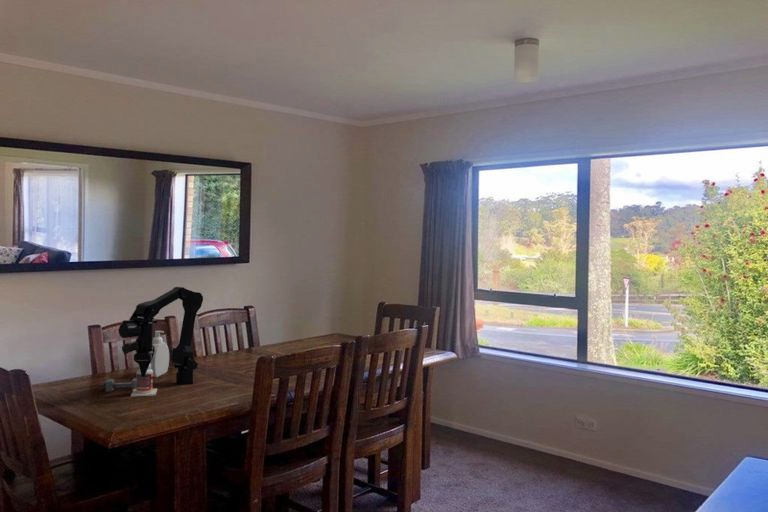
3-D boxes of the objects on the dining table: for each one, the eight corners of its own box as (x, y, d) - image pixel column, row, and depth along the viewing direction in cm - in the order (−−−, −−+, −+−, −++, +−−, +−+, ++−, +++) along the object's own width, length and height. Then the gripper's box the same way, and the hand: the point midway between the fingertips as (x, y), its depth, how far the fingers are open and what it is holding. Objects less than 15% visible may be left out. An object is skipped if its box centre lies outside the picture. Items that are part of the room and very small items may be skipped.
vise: (140, 385, 252) (140, 376, 252) (138, 390, 245) (138, 380, 244) (101, 387, 248) (101, 377, 248) (97, 392, 240) (97, 382, 240)
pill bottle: (154, 392, 240) (154, 365, 239) (137, 394, 236) (138, 366, 236) (150, 389, 245) (151, 362, 245) (134, 390, 242) (135, 363, 241)
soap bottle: (155, 378, 265) (156, 333, 265) (143, 378, 265) (144, 333, 265) (170, 370, 281) (170, 328, 281) (158, 370, 281) (159, 328, 281)
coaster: (157, 389, 246) (157, 388, 246) (155, 395, 237) (155, 394, 237) (133, 390, 244) (133, 389, 244) (130, 396, 235) (130, 395, 235)
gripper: (126, 331, 247) (125, 369, 247) (119, 339, 229) (119, 379, 229) (155, 331, 250) (154, 368, 250) (151, 338, 232) (150, 378, 232)
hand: (144, 373), depth 240 cm, fingers open, 9 cm apart
